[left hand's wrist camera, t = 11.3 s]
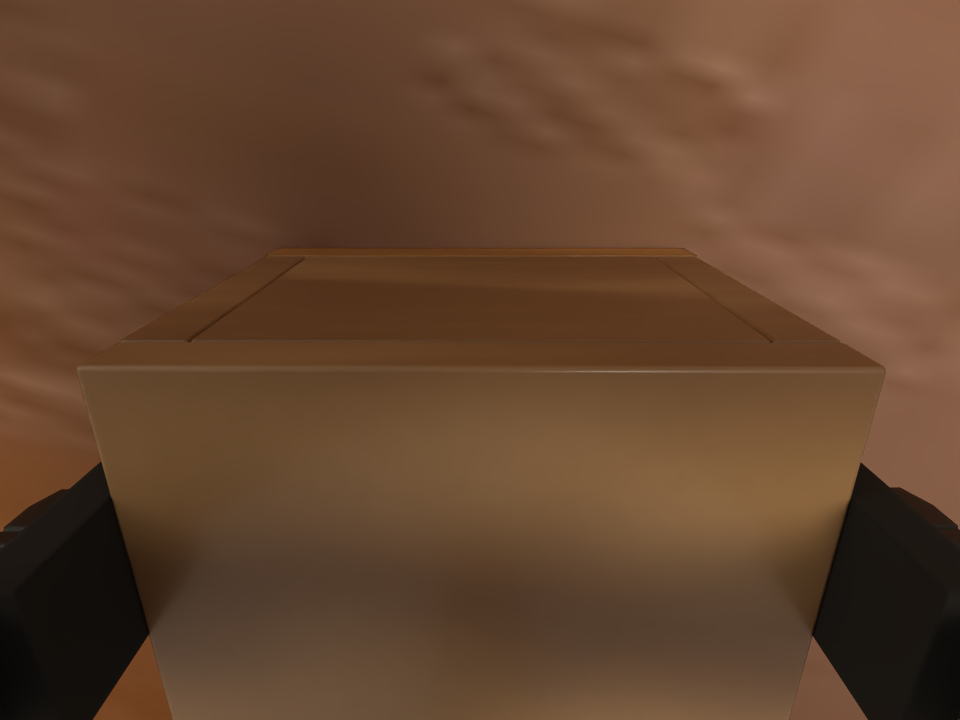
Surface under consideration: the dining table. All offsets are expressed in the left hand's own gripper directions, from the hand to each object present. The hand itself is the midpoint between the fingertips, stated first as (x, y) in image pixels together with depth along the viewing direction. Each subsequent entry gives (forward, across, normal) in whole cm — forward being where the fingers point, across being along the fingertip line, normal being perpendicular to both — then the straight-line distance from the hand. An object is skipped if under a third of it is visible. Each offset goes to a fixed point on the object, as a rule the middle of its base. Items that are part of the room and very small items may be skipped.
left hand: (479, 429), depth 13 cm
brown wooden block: (+4, 0, -7) cm, 8 cm away
